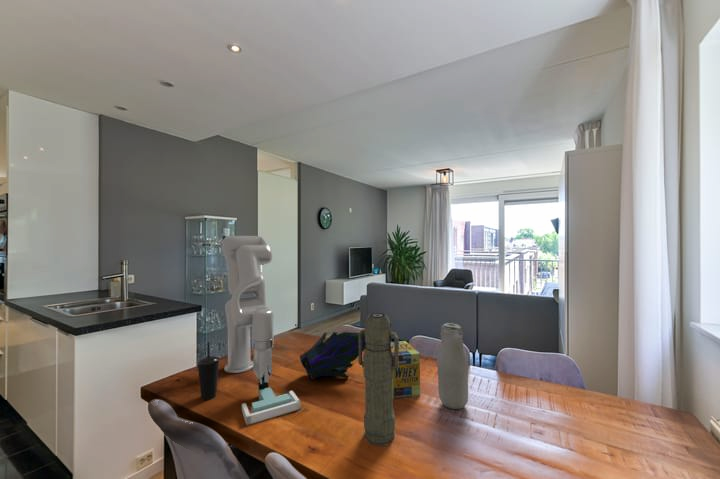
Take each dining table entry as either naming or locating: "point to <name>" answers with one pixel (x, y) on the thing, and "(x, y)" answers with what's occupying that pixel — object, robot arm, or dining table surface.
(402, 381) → the protein box
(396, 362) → the thermos
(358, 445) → the dining table surface
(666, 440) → the dining table surface
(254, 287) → the robot arm
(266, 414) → the dock
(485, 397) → the dining table surface
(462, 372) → the pale grey bottle
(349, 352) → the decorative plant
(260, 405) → the t block
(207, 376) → the drinking cup
